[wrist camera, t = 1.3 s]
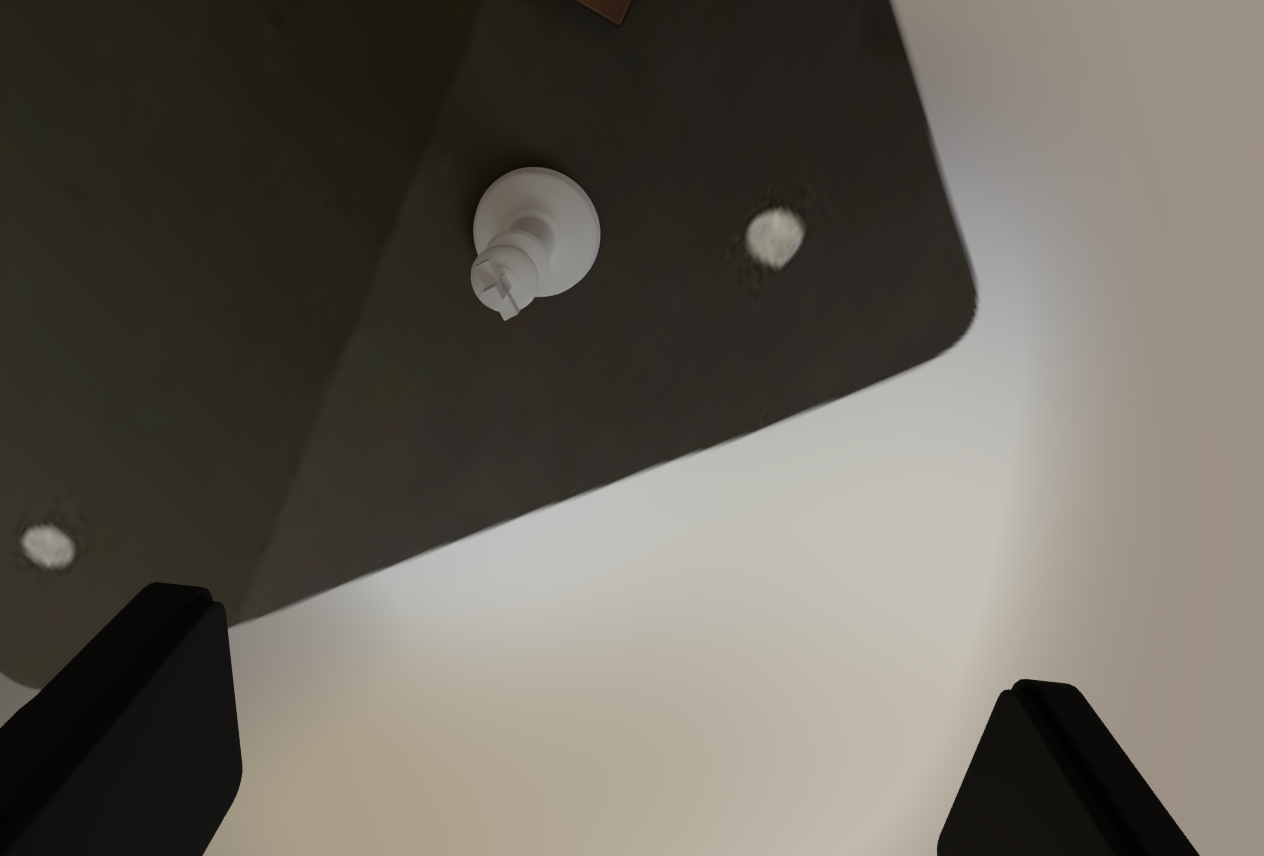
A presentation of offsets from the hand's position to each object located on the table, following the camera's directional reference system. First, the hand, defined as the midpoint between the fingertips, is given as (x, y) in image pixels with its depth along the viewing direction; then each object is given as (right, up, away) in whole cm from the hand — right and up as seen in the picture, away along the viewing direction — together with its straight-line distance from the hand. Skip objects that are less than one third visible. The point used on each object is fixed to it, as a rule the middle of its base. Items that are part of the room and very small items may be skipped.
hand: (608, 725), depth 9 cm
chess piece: (-3, +11, +21) cm, 24 cm away
